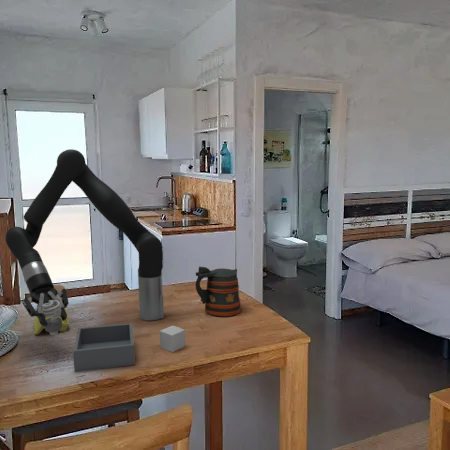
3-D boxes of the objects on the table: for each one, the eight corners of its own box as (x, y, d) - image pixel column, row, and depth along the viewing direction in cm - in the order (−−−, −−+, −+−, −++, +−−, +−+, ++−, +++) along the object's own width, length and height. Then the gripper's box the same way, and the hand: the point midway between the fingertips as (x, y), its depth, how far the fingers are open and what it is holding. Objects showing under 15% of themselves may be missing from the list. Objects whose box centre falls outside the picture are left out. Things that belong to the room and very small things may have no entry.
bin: (132, 340, 159) (132, 323, 158) (134, 364, 142) (134, 345, 141) (79, 346, 155) (77, 328, 154) (74, 371, 138) (73, 351, 137)
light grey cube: (160, 347, 154) (159, 330, 153) (173, 341, 158) (172, 325, 157) (172, 352, 150) (171, 335, 149) (185, 346, 155) (184, 329, 154)
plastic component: (69, 325, 167) (42, 318, 162) (61, 343, 167) (34, 336, 162) (65, 304, 184) (40, 297, 180) (57, 320, 185) (32, 314, 180)
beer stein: (206, 322, 175) (205, 272, 171) (189, 310, 187) (188, 263, 184) (247, 313, 185) (247, 265, 181) (228, 302, 197) (228, 257, 193)
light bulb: (47, 332, 149) (44, 297, 147) (65, 331, 150) (62, 297, 147) (42, 340, 144) (39, 304, 141) (60, 339, 144) (57, 303, 142)
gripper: (16, 276, 143) (34, 323, 137) (61, 267, 153) (79, 310, 147) (12, 289, 148) (29, 334, 142) (55, 279, 158) (73, 321, 152)
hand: (55, 322), depth 144 cm, fingers closed on light bulb, 5 cm apart
